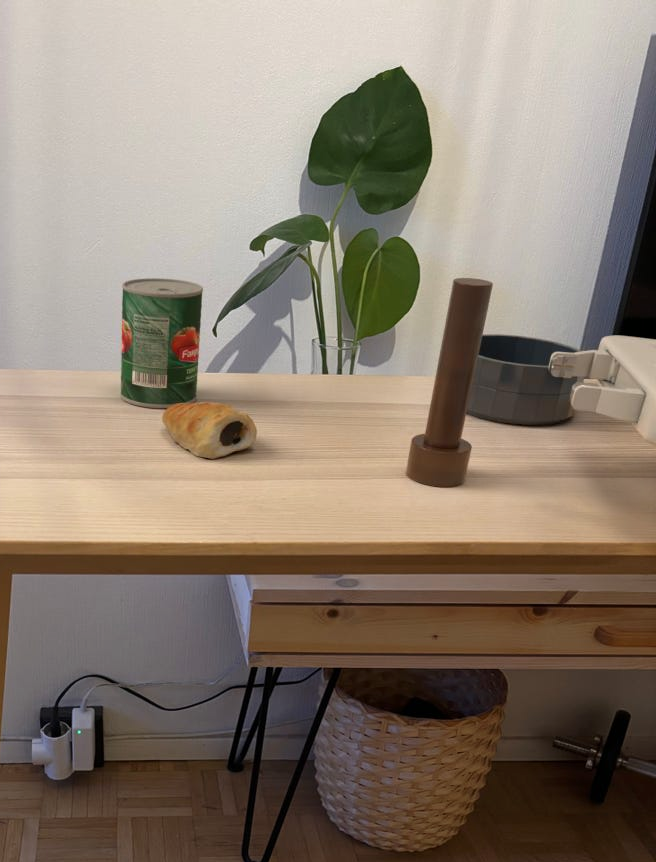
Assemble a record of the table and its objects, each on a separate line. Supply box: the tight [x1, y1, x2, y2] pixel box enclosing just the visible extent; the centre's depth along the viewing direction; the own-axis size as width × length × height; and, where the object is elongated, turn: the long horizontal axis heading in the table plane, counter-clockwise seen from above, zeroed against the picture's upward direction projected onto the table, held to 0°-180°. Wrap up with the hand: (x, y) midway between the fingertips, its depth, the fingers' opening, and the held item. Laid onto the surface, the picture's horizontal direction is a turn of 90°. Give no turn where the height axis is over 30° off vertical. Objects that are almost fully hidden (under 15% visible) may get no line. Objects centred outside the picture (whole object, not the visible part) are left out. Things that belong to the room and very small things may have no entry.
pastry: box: [161, 401, 258, 460], centre depth 86 cm, size 9×7×4 cm
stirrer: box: [405, 277, 494, 488], centre depth 78 cm, size 5×5×16 cm
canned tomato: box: [119, 277, 204, 409], centre depth 96 cm, size 8×8×11 cm
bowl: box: [466, 333, 585, 426], centre depth 100 cm, size 13×13×6 cm
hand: (560, 378), depth 77 cm, fingers open, 8 cm apart
